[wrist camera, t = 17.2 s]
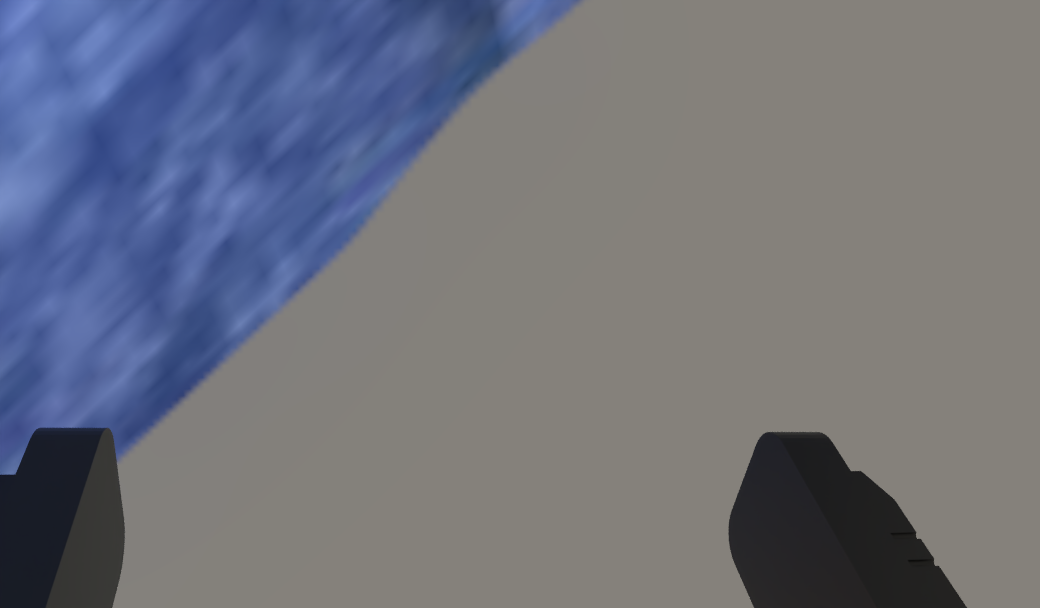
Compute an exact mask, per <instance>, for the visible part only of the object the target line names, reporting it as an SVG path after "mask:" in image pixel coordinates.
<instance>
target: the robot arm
mask: <svg viewBox="0 0 1040 608" xmlns="http://www.w3.org/2000/svg"><path fill="white" fill-rule="evenodd" d="M124 533H125V527H124V516H123V508H122V501H121V493H120V485H119V477H118V469H117V461H116V454H115V446H114V439H113V435H112V432H111V430H110V429H109V428H38V429H37V430H35V432H34V433H33V435H32V437H31V439H30V441H29V443H28V446H27V448H26V451H25V453H24V455H23V458H22V460H21V463H20V465H19V467H18V470H17V472H16V475H0V608H112V606H113V602H114V598H115V594H116V590H117V587H118V582H119V578H120V574H121V569H122V562H123V554H124V538H125V535H124ZM729 544H730V550H731V554H732V557H733V560H734V563H735V565H736V568H737V570H738V572H739V574H740V577H741V579H742V581H743V583H744V586H745V588H746V590H747V593H748V595H749V597H750V599H751V602H752V604H753V606H754V608H967V607H966V606H965V604H964V603H963V601H962V600H961V598H960V597H959V595H958V594H957V592H956V591H955V589H954V588H953V586H952V585H951V584H950V582H949V580H948V579H947V577H946V576H945V574H944V573H943V571H942V570H941V568H940V567H939V566H935V565H934V558H933V556H932V555H931V554H930V552H929V551H928V549H927V548H926V546H925V545H924V543H923V542H922V540H921V539H917V538H916V531H915V530H914V528H913V527H912V525H911V524H910V522H909V521H908V519H907V518H906V516H905V515H904V513H903V512H902V510H901V509H900V507H899V506H898V504H897V503H896V501H895V500H894V499H893V498H892V497H891V496H890V495H888V494H887V493H886V492H885V491H884V490H883V489H881V488H880V487H879V486H878V485H876V484H875V483H874V482H873V481H872V480H871V479H870V478H868V477H867V476H866V475H865V474H864V473H862V472H861V471H850V469H849V468H848V466H847V465H846V463H845V461H844V460H843V458H842V457H841V455H840V454H839V452H838V450H837V449H836V447H835V446H834V444H833V443H832V441H831V440H830V439H829V438H828V437H827V436H826V435H825V434H823V433H820V432H767V433H765V434H763V435H762V436H761V437H760V439H759V440H758V442H757V444H756V447H755V450H754V452H753V455H752V458H751V460H750V463H749V466H748V468H747V471H746V474H745V477H744V479H743V482H742V485H741V487H740V490H739V493H738V495H737V498H736V501H735V503H734V506H733V509H732V512H731V515H730V520H729Z"/></svg>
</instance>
